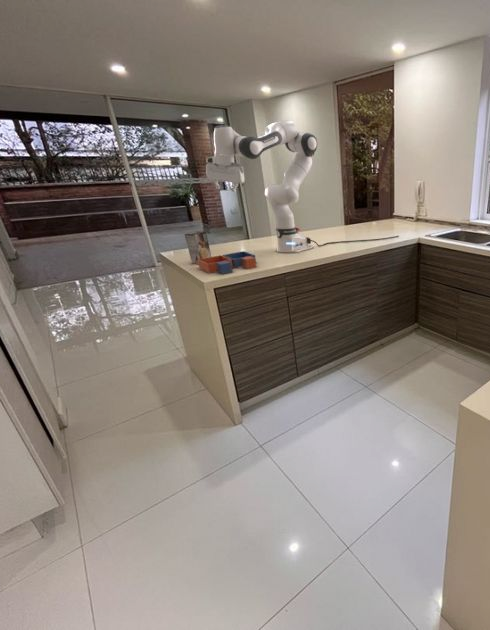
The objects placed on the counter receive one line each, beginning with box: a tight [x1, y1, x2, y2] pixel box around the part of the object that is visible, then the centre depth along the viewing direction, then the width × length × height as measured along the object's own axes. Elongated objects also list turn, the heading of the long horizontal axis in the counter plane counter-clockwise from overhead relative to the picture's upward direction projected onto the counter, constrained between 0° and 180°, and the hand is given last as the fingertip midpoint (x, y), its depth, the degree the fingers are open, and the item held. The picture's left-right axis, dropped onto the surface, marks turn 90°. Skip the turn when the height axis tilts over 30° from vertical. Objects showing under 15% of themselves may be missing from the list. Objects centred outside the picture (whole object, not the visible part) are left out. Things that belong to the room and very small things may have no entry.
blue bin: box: [221, 250, 257, 269], centre depth 186 cm, size 12×13×5 cm
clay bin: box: [198, 255, 234, 274], centre depth 177 cm, size 12×13×5 cm
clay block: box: [242, 256, 257, 270], centre depth 179 cm, size 5×5×5 cm
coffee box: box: [184, 230, 213, 265], centre depth 187 cm, size 9×6×16 cm
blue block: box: [217, 261, 233, 275], centre depth 170 cm, size 5×5×5 cm
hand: (226, 190), depth 175 cm, fingers open, 8 cm apart
